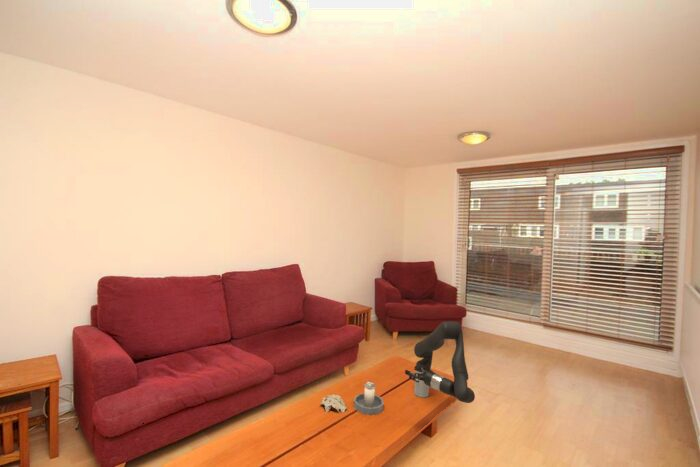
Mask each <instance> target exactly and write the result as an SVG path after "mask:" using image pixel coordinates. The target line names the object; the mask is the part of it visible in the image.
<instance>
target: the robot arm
mask: <svg viewBox="0 0 700 467" xmlns="http://www.w3.org/2000/svg"><path fill="white" fill-rule="evenodd" d="M462 328H463V327H462V325H461V323H460V322H458V321H449V320H448V321H442V322H440V324H439V325H437V327H436V328H435V329H434V330H433V331H432V332H431V333H429V335H427V336H426V337H425V338H423V339H422V340H421V341H418V342H417V343H416V344H415V346H414V349H413V350H414V351H413V352H414V354H415V356H416V357H417V358H419V359H420V358H421V359H420V360H418V361H416V364H415V365H414V369H413V370H414V371H415V372H414V371H413V372H412V371H410V370H408V369H405V371H404V374H405V375H407V376H409V377H408V379H409V380H411V381H413V382H414V392H413V394H414V396H417V397H419V398H428V397H429V395H430V388H431V389H434V390H436V391H439V392H441V393H443V394H445V395H448V396H450V397H454V398H456V399H457V400H458V401H460V402H461V403H465V404H470V403H473V402H474V401H475V400H476V399H475V398H476V396H475V392H474V390H473V389H471V388H470V387H468V380H469V372H468V368H467V363H466V359H465V346H464V345H465V344H464V343H465V342H464V334H463V329H462ZM445 340H454V341H455V348H454V353H453V355H452V357H451V358H452V359H451V369H452V370H451V371H452V374H453V380H451V379H449V378H447V377H445V376H443V375H442V374H440V373H437V372H434V371H433V370H431V368H432V362H433V354H434V351H437V350H439V349H441V348H442V347H443V346H444V345H445Z"/></svg>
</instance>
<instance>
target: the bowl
mask: <svg viewBox="0 0 700 467" xmlns="http://www.w3.org/2000/svg"><path fill="white" fill-rule="evenodd" d="M364 393H365V392H364ZM364 393H359V394H357V395H355V396H354V399H353V407H355V408H354V409H355V410H356V411H357V412H358V413H360V414H362V415H368V416H373V415H378V414H379V415H380V413H382V412H383V411H384V399H383V397H381V396H380V395H377V394H375V396H374V407H372V408H368V407H365V406H364Z"/></svg>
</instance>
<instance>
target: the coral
mask: <svg viewBox="0 0 700 467" xmlns="http://www.w3.org/2000/svg"><path fill="white" fill-rule="evenodd" d="M320 405H324V411H325V412H326V413H329V411H330V410H331V408H334V409H335V410H336V411H337V412H341V413H345V410H347V409H348V408H347V404H346V402H345V401H344V400H343V398H342V397H341V396H340V395H338V394H331V395H330V394H329V395H328V394H327V395H326V396H324V397H322V400H321V402H320Z"/></svg>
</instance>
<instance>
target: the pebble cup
mask: <svg viewBox="0 0 700 467" xmlns="http://www.w3.org/2000/svg"><path fill="white" fill-rule="evenodd" d="M375 389H376V384H375V383H374V382H371V381H367V382H366V383H364V406H365V407H368V408H372V407H374V396H375V395H376V394H375V392H376V390H375Z"/></svg>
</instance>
